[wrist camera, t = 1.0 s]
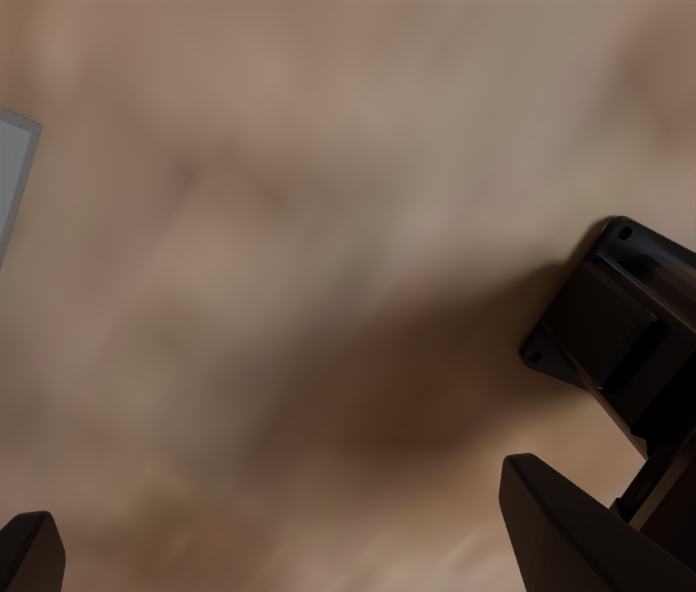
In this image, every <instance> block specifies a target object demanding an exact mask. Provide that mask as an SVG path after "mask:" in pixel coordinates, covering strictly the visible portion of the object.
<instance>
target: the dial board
mask: <svg viewBox="0 0 696 592" xmlns="http://www.w3.org/2000/svg"><path fill="white" fill-rule="evenodd" d="M41 129H42V125H41V124H39V123H37V122H34V121H32V120H29V119H27V118H25V117H22V116H20V115H17V114H15V113H13V112H10V111H8V110H5V109H3V108H1V107H0V268H1V265H2V262H3V258H4V255H5V251H6V248H7V245H8V241H9V238H10V234H11V231H12V228H13V224H14V221H15V217H16V214H17V210H18V207H19V204H20V200H21V197H22V193H23V190H24V187H25V183H26V180H27V176H28V173H29V170H30V166H31V163H32V159H33V156H34V153H35V149H36V146H37V142H38V139H39V136H40V132H41Z"/></svg>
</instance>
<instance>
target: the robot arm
mask: <svg viewBox="0 0 696 592" xmlns="http://www.w3.org/2000/svg"><path fill="white" fill-rule="evenodd" d="M623 227H626V230H625V232H624V233H623V234H622V235H619V236H618V233H619V231H620V230H621V229H622V228H623ZM535 351H537V353H536V354H535V355H534V356H531V357H529V356H530V354H532V353H533V352H535ZM519 357H520V359H521V360H522V362H523V363H524V365H526V366H527V367H529V368H531V369H534V370H537V371H539V372H542V373H544V374H547V375H549V376H552V377H554V378H557V379H560V380H562V381H565V382H567V383H570V384H572V385H575V386H577V387H580V388H583V389H585V390H588V391H590V393H591V394H592V395H593V396H594V397H595V399H596V400H597V401H598V402H599V404H600V405H601V406H602V407H603V409H604V410H605V411H606V412H607V413H608V415H609V416H610V417H611V418H612V420H613V421H614V422H615V423H616V425H617V426H618V427H619V428H620V429H621V431H622V432H623V433H624V434H625V436H626V437H627V438H628V439H629V441H630V442H631V443H632V444H633V446H634V447H635V448H636V449H637V450H638V452H639V453H640V454H641V455H642V457H643V458H644V459H645V460H646V462H645V464H644V465H643V467H642V468H641V469H640V471H639V472H638V474H637V475H636V477H635V478H634V479H633V481H632V482H631V484H630V485H629V486H628V488H627V489H626V491H625V492H624V494H623V495H622V496H621V498H616V499H615V500H614V502H613V503H612V505H611V506H610V507H609V509H608V508H606V507H605V506H604V505H602V504H601V503H600V502H598V501H597V500H595V499H594V498H593V497H591V496H590V495H589V494H587V493H586V492H585V491H583V490H582V489H580V488H579V487H578V486H576V485H575V484H574V483H572V482H571V481H569V480H568V479H567V478H565V477H564V476H563V475H561V474H560V473H559V472H557V471H556V470H554V469H553V468H552V467H550V466H549V465H548V464H546V463H545V462H544V461H542V460H541V459H539V458H538V457H537V456H535V455H533V454H531V453H522V454H514V455H508V456H506V457H505V459H504V461H503V465H502V473H501V481H500V489H499V503H500V508H501V512H502V515H503V518H504V521H505V525H506V528H507V531H508V534H509V537H510V540H511V544H512V547H513V550H514V553H515V556H516V560H517V563H518V566H519V569H520V572H521V575H522V579H523V582H524V585H525V588H526V591H527V592H696V253H695V252H693V251H691V250H689V249H687V248H686V247H684V246H682V245H680V244H678V243H676V242H674V241H672V240H670V239H669V238H667V237H665V236H663V235H661V234H659V233H657V232H655V231H654V230H652V229H650V228H648V227H646V226H644V225H642V224H640V223H638V222H637V221H635V220H633V219H631V218H629V217H626V216H618V217H616V218H614V219H613V220H612V221H611V222H610V223H609V224H608V225H607V227H606V228H605V229H604V231H603V232H602V234H601V235H600V236H599V238H598V239H597V241H596V242H595V243H594V245H593V246H592V248H591V249H590V251H589V252H588V253H587V255H586V256H585V258H584V259H583V260H582V262H581V263H580V264H579V265H578V267H577V268H576V270H575V271H574V273H573V274H572V275H571V277H570V278H569V280H568V281H567V282H566V284H565V285H564V287H563V288H562V289H561V291H560V292H559V294H558V295H557V296H556V298H555V299H554V301H553V302H552V304H551V305H550V306H549V308H548V309H547V311H546V312H545V313H544V315H543V316H542V318H541V320H540V321H539V322H538V324H537V325H536V327H535V328H534V329H533V331H532V332H531V334H530V335H529V336H528V338H527V339H526V341H525V342H524V343H523V345H522V346H521V348H520V350H519ZM65 560H66V558H65V549H64V546H63V543H62V540H61V538H60V535H59V532H58V529H57V527H56V524H55V521H54V518H53V516H52V514H51V513H50V512H48V511H36V512H27V513H21V514H18V515H17V516H15V517H14V518H13V519H11V520H10V521H9V522H8V523H7V524H6V525H5V526H4V527H3V528H2V529H1V530H0V592H61V588H62V582H63V576H64V570H65Z"/></svg>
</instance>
